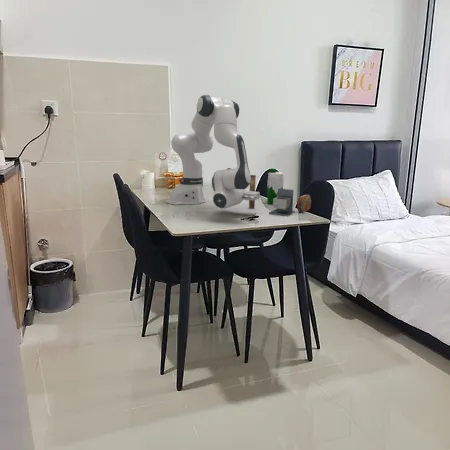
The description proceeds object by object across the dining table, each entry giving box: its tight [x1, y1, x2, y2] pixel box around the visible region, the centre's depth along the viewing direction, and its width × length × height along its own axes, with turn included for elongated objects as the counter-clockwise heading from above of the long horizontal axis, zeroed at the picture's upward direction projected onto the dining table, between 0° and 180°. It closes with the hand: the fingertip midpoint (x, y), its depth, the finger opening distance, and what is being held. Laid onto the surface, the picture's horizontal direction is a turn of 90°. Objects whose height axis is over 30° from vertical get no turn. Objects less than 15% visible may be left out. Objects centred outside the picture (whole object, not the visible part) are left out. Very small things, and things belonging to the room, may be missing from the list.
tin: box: [296, 194, 312, 213], centre depth 217 cm, size 15×3×8 cm, turn 148°
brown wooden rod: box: [248, 174, 257, 210], centre depth 220 cm, size 3×3×18 cm
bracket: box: [268, 188, 296, 217], centre depth 209 cm, size 12×10×12 cm
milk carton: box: [266, 168, 284, 205], centre depth 235 cm, size 9×9×20 cm
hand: (245, 192), depth 212 cm, fingers open, 8 cm apart
